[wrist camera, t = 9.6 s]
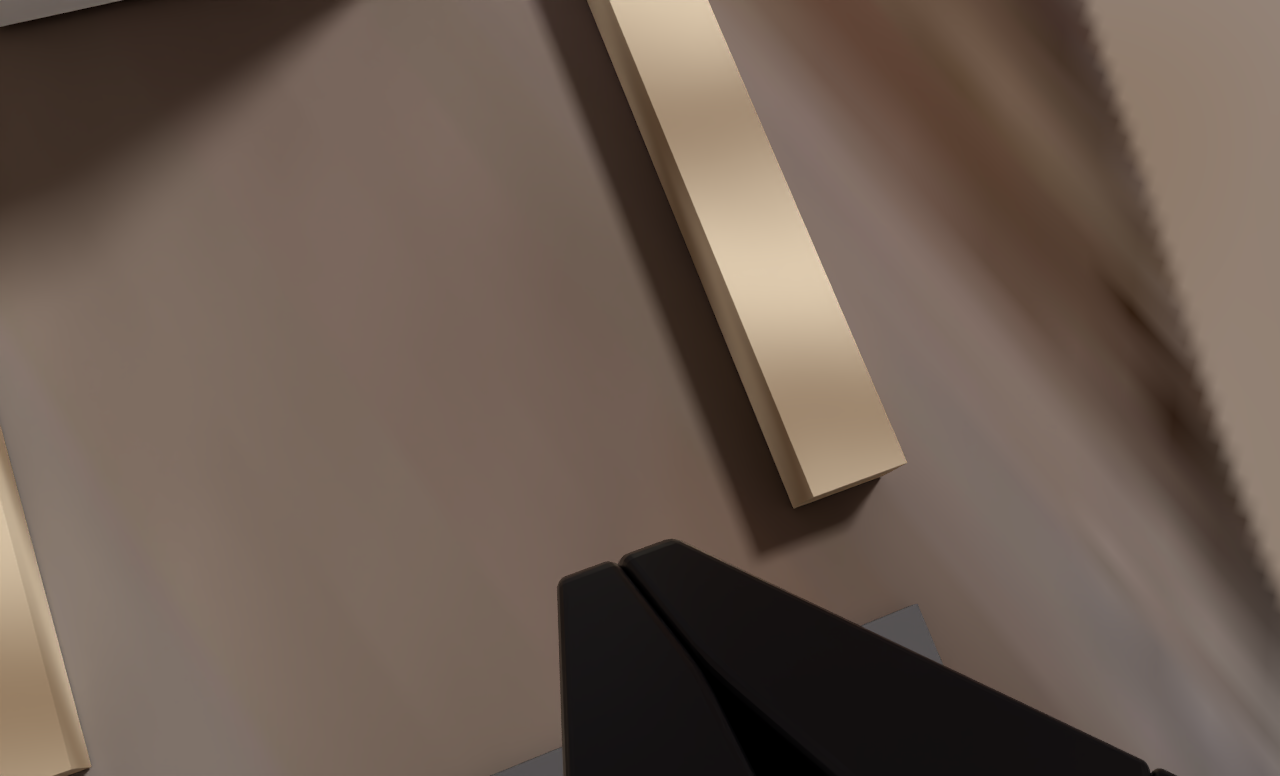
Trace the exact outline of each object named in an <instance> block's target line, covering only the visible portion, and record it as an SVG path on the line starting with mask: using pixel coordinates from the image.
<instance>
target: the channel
mask: <svg viewBox="0 0 1280 776" xmlns="http://www.w3.org/2000/svg"><path fill="white" fill-rule="evenodd" d="M587 2H588V4H589V7H590V9H591V12H592V14H593V17H594V19H595V22H596V24H597V27H598V29H599V32H600V34H601V36H602V39H603V41H604V44H605V46H606V49H607V51H608V54H609V56H610V59H611V61H612V63H613V66H614V68H615V71H616V73H617V76H618V78H619V81H620V83H621V86H622V88H623V91H624V93H625V95H626V98H627V100H628V103H629V105H630V108H631V110H632V113H633V115H634V118H635V120H636V122H637V125H638V127H639V130H640V132H641V135H642V137H643V140H644V142H645V145H646V147H647V150H648V152H649V154H650V157H651V159H652V162H653V164H654V167H655V169H656V172H657V174H658V177H659V179H660V181H661V184H662V186H663V189H664V191H665V194H666V196H667V199H668V201H669V204H670V206H671V209H672V211H673V213H674V216H675V218H676V221H677V223H678V226H679V228H680V231H681V233H682V236H683V238H684V241H685V243H686V245H687V248H688V250H689V253H690V255H691V258H692V260H693V263H694V265H695V268H696V270H697V272H698V275H699V277H700V280H701V282H702V285H703V287H704V290H705V292H706V295H707V297H708V300H709V302H710V304H711V307H712V309H713V312H714V314H715V317H716V319H717V322H718V324H719V327H720V329H721V331H722V334H723V336H724V339H725V341H726V344H727V346H728V349H729V351H730V354H731V356H732V359H733V361H734V363H735V366H736V368H737V371H738V373H739V376H740V378H741V381H742V383H743V386H744V388H745V391H746V393H747V395H748V398H749V400H750V403H751V405H752V408H753V410H754V413H755V415H756V418H757V420H758V422H759V425H760V427H761V430H762V432H763V435H764V437H765V440H766V442H767V445H768V447H769V450H770V452H771V454H772V457H773V459H774V462H775V464H776V467H777V469H778V472H779V474H780V477H781V479H782V481H783V484H784V486H785V489H786V491H787V494H788V496H789V499H790V501H791V504H792V506H793V509H794V508H797V507H800V506H802V505H805V504H808V503H811V502H813V501H816V500H819V499H821V498H824V497H827V496H830V495H832V494H835V493H838V492H840V491H843V490H846V489H849V488H851V487H854V486H857V485H860V484H862V483H865V482H868V481H870V480H873V479H876V478H879V477H881V476H884V475H886V474H887V473H889V472H891V471H893V470H895V469H897V468H898V467H900V466H902V465H904V464H906V463H907V461H906V459H905V456H904V454H903V452H902V449H901V447H900V445H899V442H898V440H897V438H896V435H895V433H894V431H893V429H892V426H891V424H890V422H889V419H888V417H887V415H886V412H885V410H884V408H883V405H882V403H881V401H880V398H879V396H878V394H877V391H876V389H875V387H874V384H873V382H872V380H871V377H870V375H869V373H868V370H867V368H866V366H865V364H864V361H863V359H862V357H861V354H860V352H859V350H858V347H857V345H856V343H855V340H854V338H853V336H852V333H851V331H850V329H849V326H848V324H847V322H846V319H845V317H844V315H843V312H842V310H841V308H840V306H839V303H838V301H837V299H836V296H835V294H834V292H833V289H832V287H831V285H830V282H829V280H828V278H827V275H826V273H825V271H824V268H823V266H822V264H821V261H820V259H819V257H818V254H817V252H816V250H815V248H814V245H813V243H812V241H811V238H810V236H809V234H808V231H807V229H806V227H805V224H804V222H803V220H802V217H801V215H800V213H799V210H798V208H797V206H796V203H795V201H794V199H793V196H792V194H791V192H790V190H789V187H788V185H787V183H786V180H785V178H784V176H783V173H782V171H781V169H780V166H779V164H778V162H777V159H776V157H775V155H774V152H773V150H772V148H771V145H770V143H769V141H768V138H767V136H766V134H765V131H764V129H763V127H762V125H761V122H760V120H759V118H758V115H757V113H756V111H755V108H754V106H753V104H752V101H751V99H750V97H749V94H748V92H747V90H746V87H745V85H744V83H743V80H742V78H741V76H740V73H739V71H738V69H737V67H736V64H735V62H734V60H733V57H732V55H731V53H730V50H729V48H728V46H727V43H726V41H725V39H724V36H723V34H722V32H721V29H720V27H719V25H718V22H717V20H716V18H715V15H714V13H713V11H712V9H711V6H710V4H709V2H708V0H587ZM90 767H91V763H90V759H89V756H88V752H87V748H86V744H85V741H84V737H83V733H82V729H81V726H80V722H79V718H78V714H77V711H76V707H75V703H74V699H73V696H72V692H71V688H70V684H69V681H68V677H67V673H66V669H65V666H64V662H63V658H62V654H61V651H60V647H59V643H58V639H57V636H56V632H55V628H54V624H53V621H52V617H51V613H50V609H49V606H48V602H47V598H46V594H45V591H44V587H43V583H42V579H41V576H40V572H39V568H38V564H37V561H36V557H35V553H34V549H33V546H32V542H31V538H30V534H29V530H28V527H27V523H26V519H25V515H24V512H23V508H22V504H21V500H20V497H19V493H18V489H17V485H16V482H15V478H14V474H13V470H12V467H11V463H10V459H9V455H8V452H7V448H6V444H5V440H4V437H3V433H2V429H1V425H0V776H68V775H71V774H74V773H76V772H79V771H82V770H84V769H87V768H90Z"/></svg>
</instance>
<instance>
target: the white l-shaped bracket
mask: <svg viewBox="0 0 1280 776" xmlns="http://www.w3.org/2000/svg"><path fill="white" fill-rule="evenodd" d="M117 1H122V0H0V27H2V26H6V25H11V24H15V23H20V22H25V21H29V20H34V19H39V18H43V17H48V16H52V15H57V14H62V13H66V12H71V11H75V10H80V9H85V8H89V7H94V6H98V5H103V4H108V3H112V2H117Z"/></svg>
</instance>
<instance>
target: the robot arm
mask: <svg viewBox="0 0 1280 776" xmlns="http://www.w3.org/2000/svg"><path fill="white" fill-rule="evenodd" d="M557 601H558V632H559V663H560V694H561V725H562V756H563V776H1176V775H1174V774H1172V773H1170V772H1168V771H1166V770H1164V769H1155V770H1154V771H1152V773H1150V769H1149V767H1148V765H1147V763H1146V762H1145V761H1143V760H1142V759H1140V758H1137V757H1135V756H1133V755H1131V754H1129V753H1127V752H1125V751H1123V750H1121V749H1119V748H1116V747H1114V746H1112V745H1110V744H1108V743H1106V742H1104V741H1102V740H1100V739H1097V738H1095V737H1093V736H1091V735H1089V734H1087V733H1085V732H1083V731H1081V730H1079V729H1076V728H1074V727H1072V726H1070V725H1068V724H1066V723H1064V722H1062V721H1060V720H1057V719H1055V718H1053V717H1051V716H1049V715H1047V714H1045V713H1043V712H1041V711H1039V710H1036V709H1034V708H1032V707H1030V706H1028V705H1026V704H1024V703H1022V702H1020V701H1018V700H1015V699H1013V698H1011V697H1009V696H1007V695H1005V694H1003V693H1001V692H999V691H996V690H994V689H992V688H990V687H988V686H986V685H984V684H982V683H980V682H978V681H975V680H973V679H971V678H969V677H967V676H965V675H963V674H961V673H959V672H956V671H954V670H952V669H950V668H948V667H946V666H944V665H942V664H940V663H938V662H935V661H933V660H931V659H929V658H927V657H925V656H923V655H921V654H919V653H917V652H914V651H912V650H910V649H908V648H906V647H904V646H902V645H900V644H898V643H895V642H893V641H891V640H889V639H887V638H885V637H883V636H881V635H879V634H877V633H874V632H872V631H870V630H868V629H866V628H864V627H862V626H860V625H858V624H855V623H853V622H851V621H849V620H847V619H845V618H843V617H841V616H839V615H837V614H834V613H832V612H830V611H828V610H826V609H824V608H822V607H820V606H818V605H815V604H813V603H811V602H809V601H807V600H805V599H803V598H801V597H799V596H797V595H794V594H792V593H790V592H788V591H786V590H784V589H782V588H780V587H778V586H776V585H773V584H771V583H769V582H767V581H765V580H763V579H761V578H759V577H757V576H754V575H752V574H750V573H748V572H746V571H744V570H742V569H740V568H738V567H736V566H733V565H731V564H729V563H727V562H725V561H723V560H721V559H719V558H717V557H714V556H712V555H710V554H708V553H706V552H704V551H702V550H700V549H698V548H696V547H693V546H691V545H689V544H687V543H685V542H683V541H680V540H676V539H668V540H663V541H661V542H658V543H655V544H652V545H650V546H647V547H644V548H642V549H639V550H636V551H633V552H631V553H628V554H626V555H624V556H623V557H622V558H621V560H620V561H619V563H618V564H616V563H613V562H609V561H608V562H603V563H600V564H598V565H595V566H592V567H589V568H587V569H584V570H581V571H579V572H576V573H573V574H570V575H568V576H565V577H563V578H562V579H561V580H560V581H559V584H558V586H557Z"/></svg>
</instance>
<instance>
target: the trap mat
mask: <svg viewBox="0 0 1280 776" xmlns="http://www.w3.org/2000/svg"><path fill="white" fill-rule="evenodd" d="M862 627H864V628H866V629H868V630H870V631H872V632H874V633H877V634H879V635H881V636H883V637H885V638H887V639H889V640H891V641H893V642H895V643H898V644H900V645H902V646H904V647H906V648H908V649H910V650H912V651H914V652H917V653H919V654H921V655H923V656H925V657H927V658H929V659H931V660H933V661H935V662H938V663H940V664H942V665H943V663H942V661H941V659H940V656H939V654H938V652H937V649H936V647H935V644H934V642H933V640H932V637H931V635H930V633H929V630H928V628H927V626H926V623H925V621H924V618H923V616H922V614H921V611H920V609H919V607H918V604H914V605H911V606H908V607H906V608H904V609H901V610H899V611H896V612H894V613H891V614H889V615H886V616H884V617H881V618H879V619H876V620H874V621H871V622H869V623H866V624H864V625H862ZM491 776H563V756H562V747H560V748H558V749H555V750H553V751H550V752H548V753H545V754H543V755H540V756H538V757H535V758H533V759H530V760H528V761H526V762H523V763H521V764H518V765H516V766H513V767H511V768H508V769H506V770H503V771H501V772H498V773H496V774H493V775H491Z"/></svg>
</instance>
